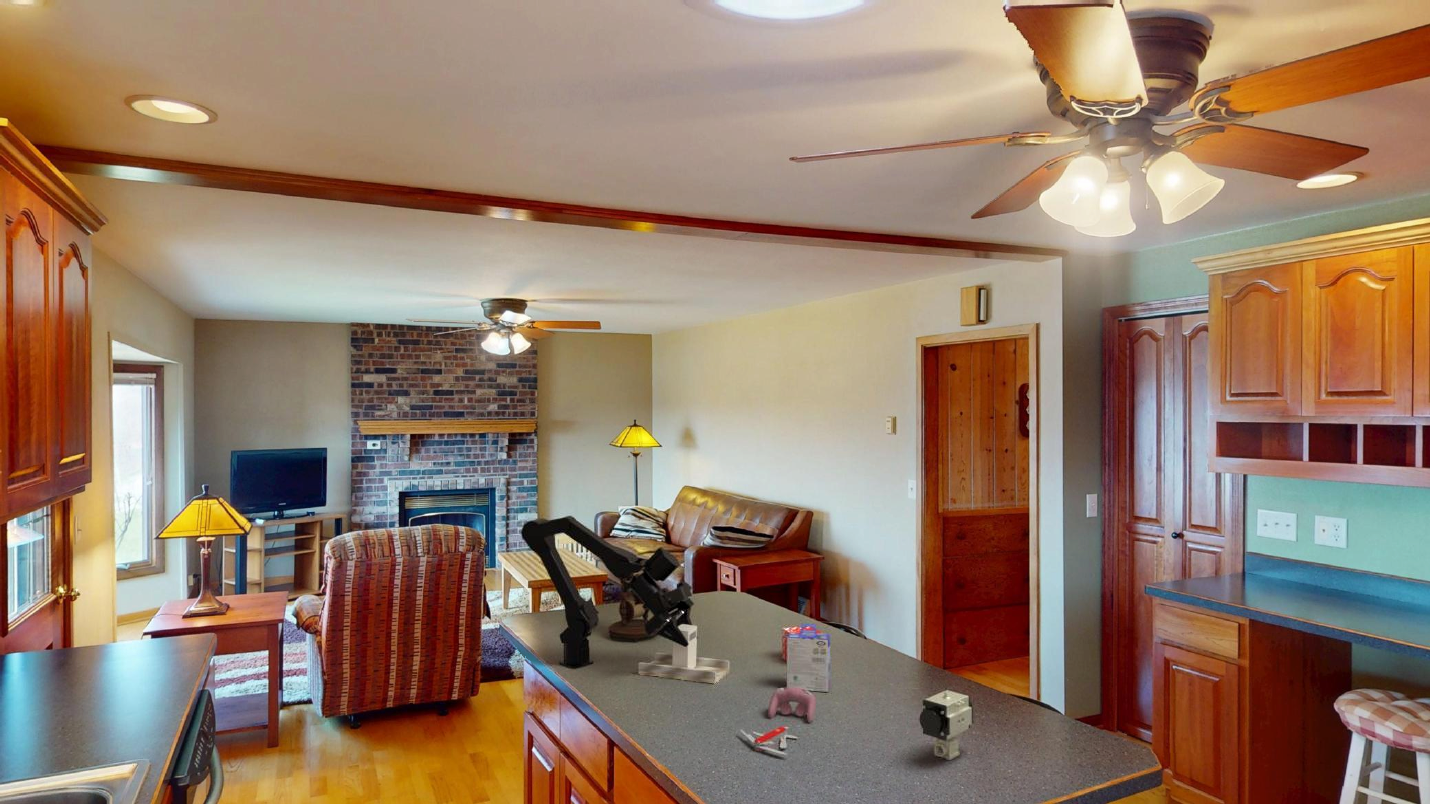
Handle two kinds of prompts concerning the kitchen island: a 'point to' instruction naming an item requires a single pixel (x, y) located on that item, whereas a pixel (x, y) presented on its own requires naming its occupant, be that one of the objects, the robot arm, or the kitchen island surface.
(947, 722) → the pneumatic valve
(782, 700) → the video game controller
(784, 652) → the red patterned cube
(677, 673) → the mounting rail
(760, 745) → the swiss army knife
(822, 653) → the ink cartridge box
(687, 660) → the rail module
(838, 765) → the kitchen island surface
